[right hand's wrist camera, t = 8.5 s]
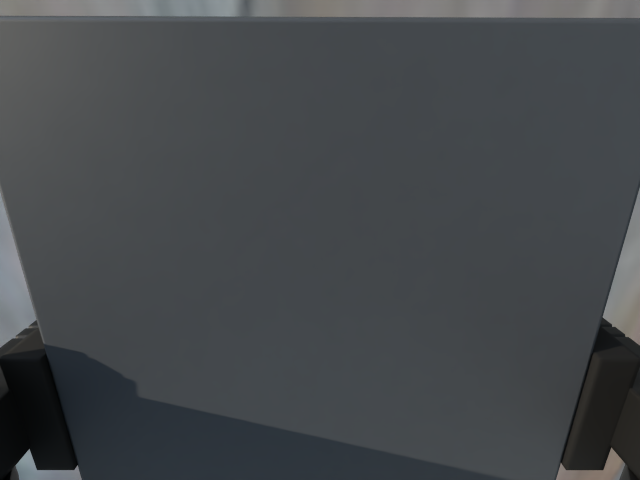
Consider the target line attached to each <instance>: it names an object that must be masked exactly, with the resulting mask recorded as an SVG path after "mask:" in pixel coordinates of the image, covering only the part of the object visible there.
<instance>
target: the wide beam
mask: <svg viewBox="0 0 640 480" xmlns="http://www.w3.org/2000/svg"><path fill="white" fill-rule="evenodd" d="M639 188H640V18H435V17H162V16H0V192H1V196H2V199H3V203H4V206H5V210H6V213H7V217H8V220H9V224H10V227H11V231H12V234H13V238H14V241H15V245H16V249H17V252H18V256H19V259H20V263H21V266H22V270H23V273H24V277H25V280H26V284H27V287H28V291H29V294H30V298H31V301H32V305H33V309H34V312H35V316H36V319H37V323H38V326H39V330H40V333H41V337H42V340H43V344H44V347H45V351H46V354H47V358H48V361H49V365H50V369H51V372H52V376H53V379H54V383H55V386H56V390H57V393H58V397H59V400H60V404H61V407H62V411H63V414H64V418H65V421H66V425H67V429H68V432H69V436H70V439H71V443H72V446H73V450H74V453H75V457H76V460H77V464H78V467H79V471H80V474H81V478H82V480H556V477H557V474H558V470H559V467H560V463H561V460H562V456H563V453H564V449H565V446H566V442H567V439H568V435H569V432H570V428H571V425H572V421H573V418H574V415H575V411H576V408H577V404H578V401H579V397H580V394H581V390H582V387H583V383H584V380H585V376H586V373H587V369H588V366H589V362H590V359H591V355H592V352H593V348H594V345H595V341H596V338H597V334H598V331H599V327H600V324H601V320H602V317H603V313H604V310H605V306H606V303H607V299H608V296H609V292H610V289H611V285H612V282H613V278H614V275H615V271H616V268H617V264H618V261H619V257H620V254H621V250H622V247H623V243H624V240H625V237H626V233H627V230H628V226H629V223H630V219H631V216H632V212H633V209H634V205H635V202H636V198H637V195H638V191H639Z"/></svg>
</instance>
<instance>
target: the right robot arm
mask: <svg viewBox="0 0 640 480" xmlns="http://www.w3.org/2000/svg"><path fill="white" fill-rule="evenodd" d="M611 447H612V448H613V450H614V451H615V452H616V453H617V454H618V455H619V457H620V458H621V459H622V460H623V461H624V463H625V466H624V469H623V472H622V474H621V477H620V480H640V346H639V345H638V344H637V343H635V342H634V341H633V340H632V339H630V338H629V337H625V334H624V333H622V332H621V331H620V330H618V329H617V328H616V327H612V324H610V323H609V322H608V321H606V320H605V319H604V318H602V320H601V324H600V327H599V331H598V334H597V338H596V341H595V345H594V348H593V352H592V355H591V359H590V362H589V366H588V369H587V373H586V376H585V380H584V383H583V387H582V390H581V394H580V397H579V401H578V404H577V408H576V411H575V415H574V418H573V421H572V425H571V428H570V432H569V435H568V439H567V442H566V446H565V449H564V453H563V456H562V460H561V463H562V465H563V466H564V468H565V469H566V470H603V469H604V466H605V463H606V461H607V458H608V455H609V452H610V449H611ZM29 449H30V451H31V454H32V457H33V460H34V462H35V465H36V468H37V470H75V468H76V467H77V465H78V464H77V460H76V457H75V453H74V450H73V446H72V443H71V439H70V436H69V432H68V429H67V425H66V421H65V418H64V414H63V411H62V407H61V404H60V400H59V397H58V393H57V390H56V386H55V383H54V379H53V376H52V372H51V369H50V365H49V361H48V358H47V354H46V351H45V347H44V344H43V340H42V337H41V333H40V330H39V326H38V323H37V320H36V321H35V322H34V323H32V324H31V325H30V326H29V328H26V329H24V330H23V331H22V332H20V333H19V334H18V335H16V338H15V339H11V340H10V341H9V342H7V343H6V344H5V345H3V346H2V347H1V348H0V480H19V475H18V472H17V469H16V466H15V465H16V464H17V463H18V462H19V460H20V459H21V458H22V457H23V456H24V454H25V453H26V452H27V451H28V450H29Z"/></svg>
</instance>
